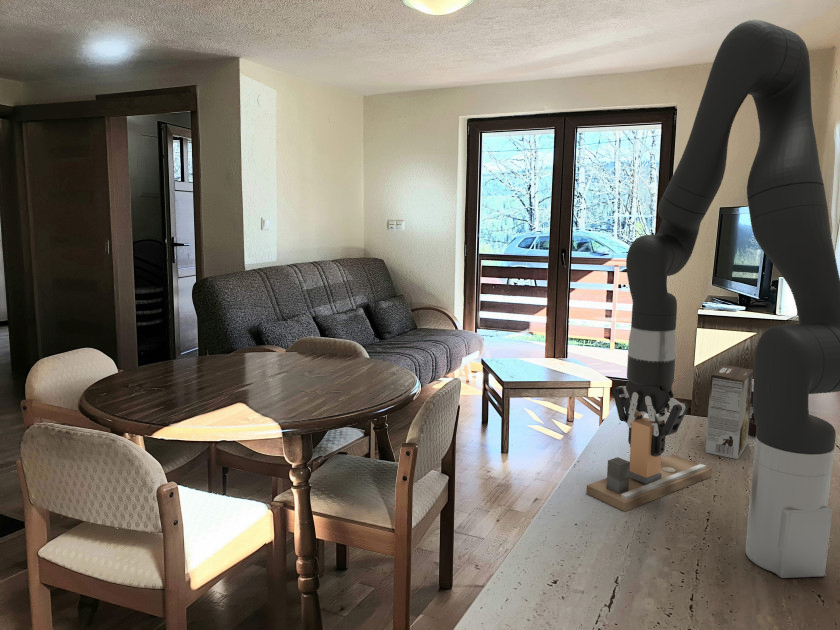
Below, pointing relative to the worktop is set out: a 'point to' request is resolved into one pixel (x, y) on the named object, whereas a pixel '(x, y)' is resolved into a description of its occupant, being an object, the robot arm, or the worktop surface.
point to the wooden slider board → (635, 493)
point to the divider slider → (643, 453)
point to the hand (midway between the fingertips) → (645, 450)
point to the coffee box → (729, 411)
